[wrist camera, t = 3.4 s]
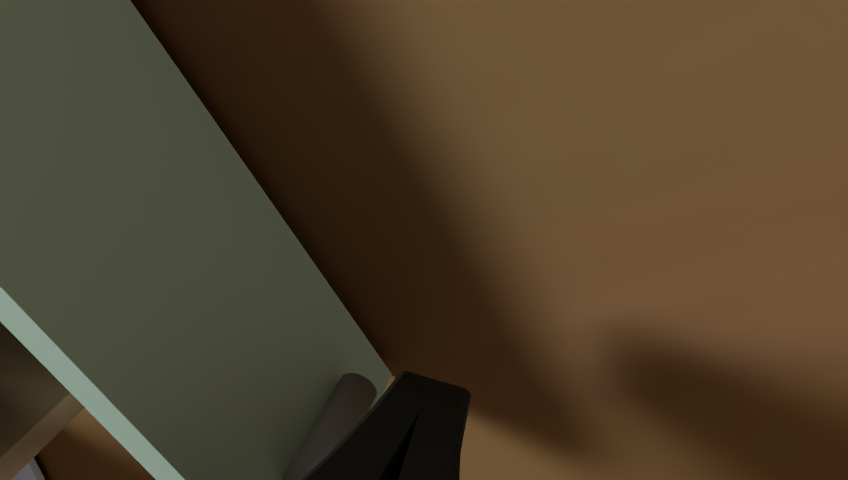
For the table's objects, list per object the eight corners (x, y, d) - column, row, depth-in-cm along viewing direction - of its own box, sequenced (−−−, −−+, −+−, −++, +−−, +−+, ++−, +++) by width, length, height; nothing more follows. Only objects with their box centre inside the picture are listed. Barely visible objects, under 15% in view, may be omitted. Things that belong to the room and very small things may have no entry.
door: (420, 368, 16) (323, 588, 11) (362, 380, 17) (251, 586, 12) (-1, -259, 10) (-543, -354, 6) (-48, -184, 11) (-540, -211, 7)
